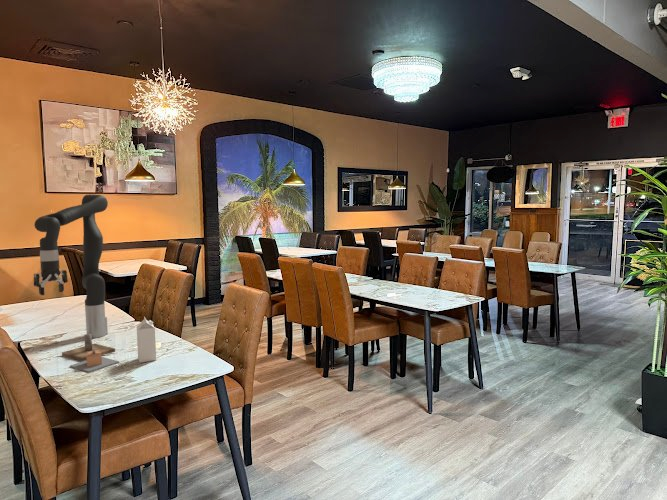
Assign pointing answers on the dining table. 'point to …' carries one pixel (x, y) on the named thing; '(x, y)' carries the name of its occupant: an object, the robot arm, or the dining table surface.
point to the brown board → (87, 349)
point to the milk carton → (146, 341)
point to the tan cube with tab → (94, 357)
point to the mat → (83, 365)
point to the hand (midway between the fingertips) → (51, 293)
